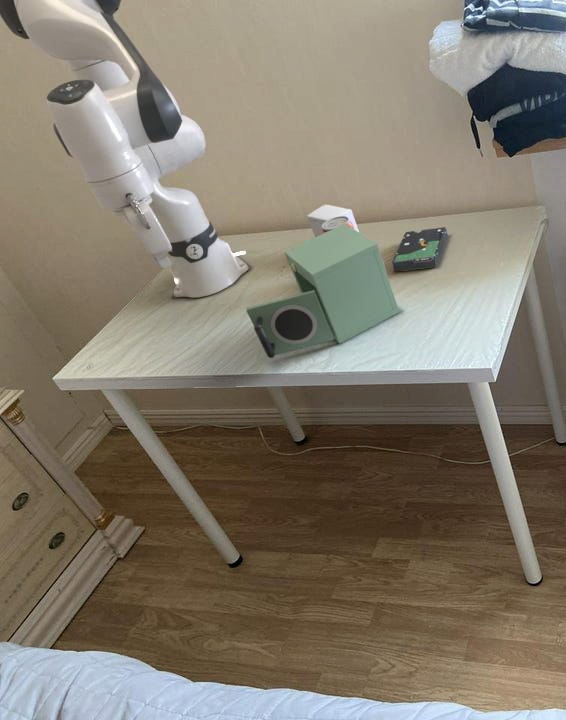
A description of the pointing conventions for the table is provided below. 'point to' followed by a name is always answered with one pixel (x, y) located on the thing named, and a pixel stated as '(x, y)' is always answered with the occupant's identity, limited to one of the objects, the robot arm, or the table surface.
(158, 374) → the table surface
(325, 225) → the soda can
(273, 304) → the door
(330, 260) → the washer
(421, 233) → the disk drive
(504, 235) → the table surface
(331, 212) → the cosmetics box
